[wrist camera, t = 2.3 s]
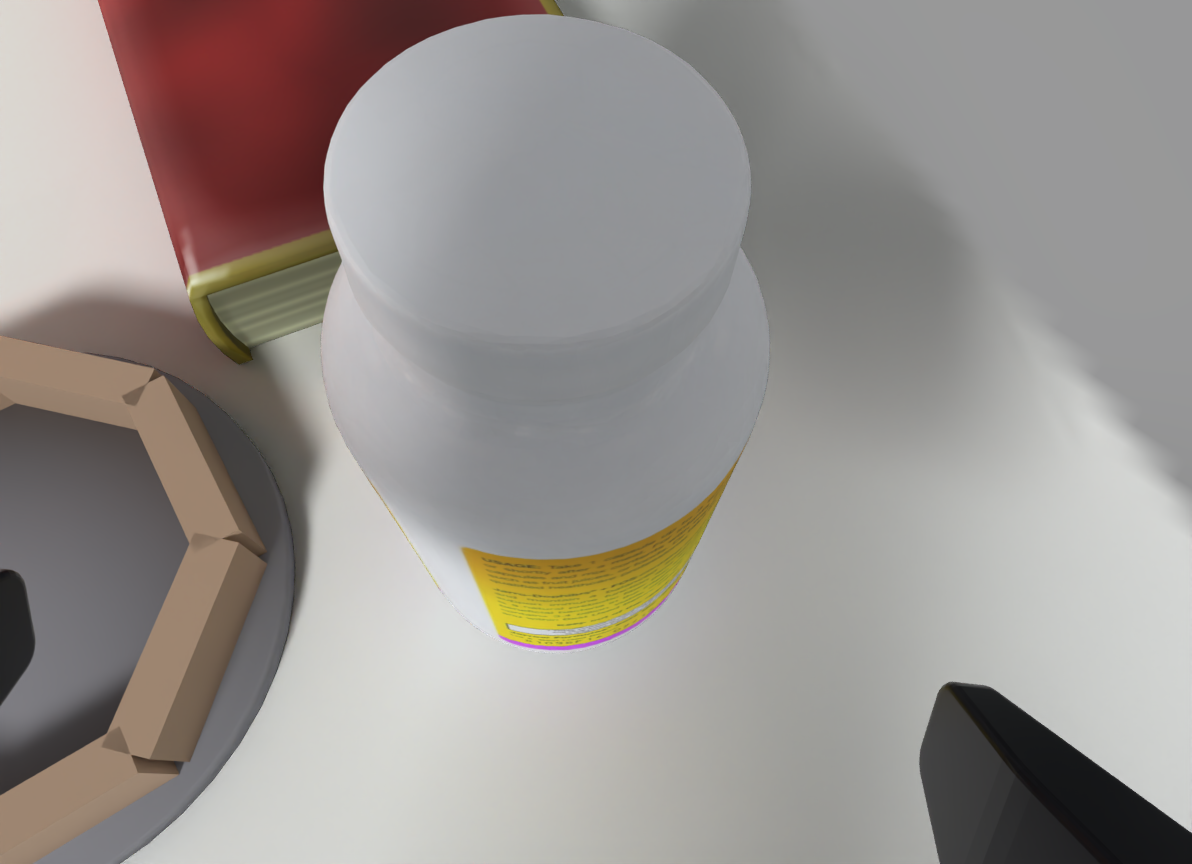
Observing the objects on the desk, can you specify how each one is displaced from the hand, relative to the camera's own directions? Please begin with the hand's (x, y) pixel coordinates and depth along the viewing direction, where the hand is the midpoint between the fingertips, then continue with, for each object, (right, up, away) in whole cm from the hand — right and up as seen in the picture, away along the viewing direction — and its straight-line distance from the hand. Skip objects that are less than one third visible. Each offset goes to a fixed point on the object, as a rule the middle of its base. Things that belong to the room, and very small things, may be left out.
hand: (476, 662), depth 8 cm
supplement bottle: (0, 0, +13) cm, 13 cm away
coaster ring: (-13, -2, +11) cm, 17 cm away
